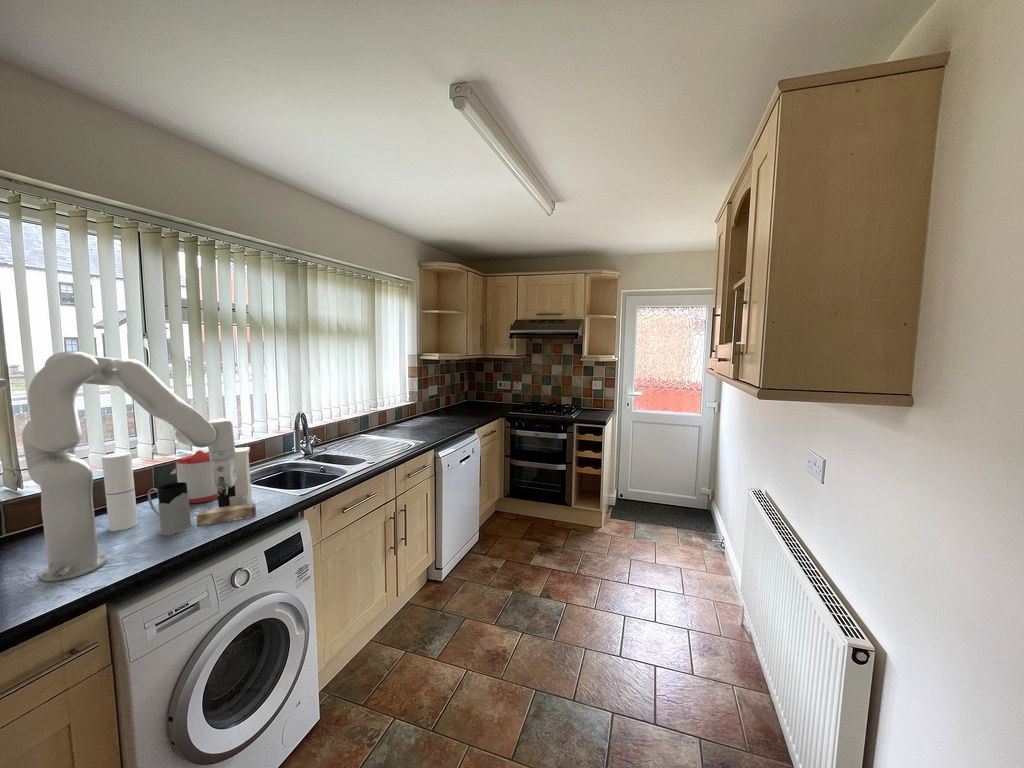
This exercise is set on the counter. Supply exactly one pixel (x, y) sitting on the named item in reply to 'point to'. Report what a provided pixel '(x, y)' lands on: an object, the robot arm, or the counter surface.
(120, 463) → the cylindrical container
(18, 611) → the counter surface
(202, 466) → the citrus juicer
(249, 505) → the rail
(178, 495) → the grey mug
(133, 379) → the robot arm
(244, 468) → the tall white box
